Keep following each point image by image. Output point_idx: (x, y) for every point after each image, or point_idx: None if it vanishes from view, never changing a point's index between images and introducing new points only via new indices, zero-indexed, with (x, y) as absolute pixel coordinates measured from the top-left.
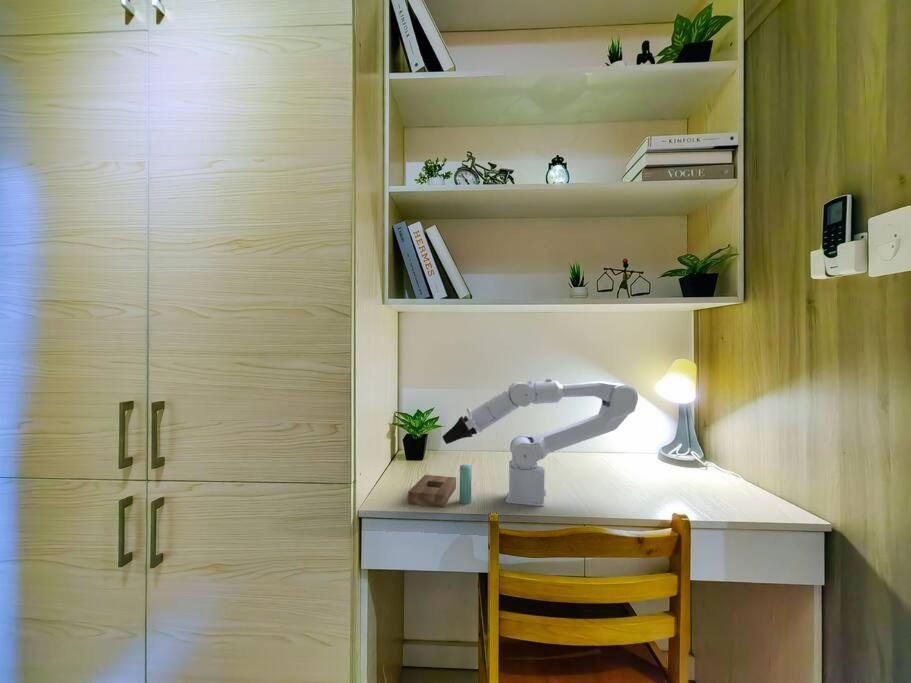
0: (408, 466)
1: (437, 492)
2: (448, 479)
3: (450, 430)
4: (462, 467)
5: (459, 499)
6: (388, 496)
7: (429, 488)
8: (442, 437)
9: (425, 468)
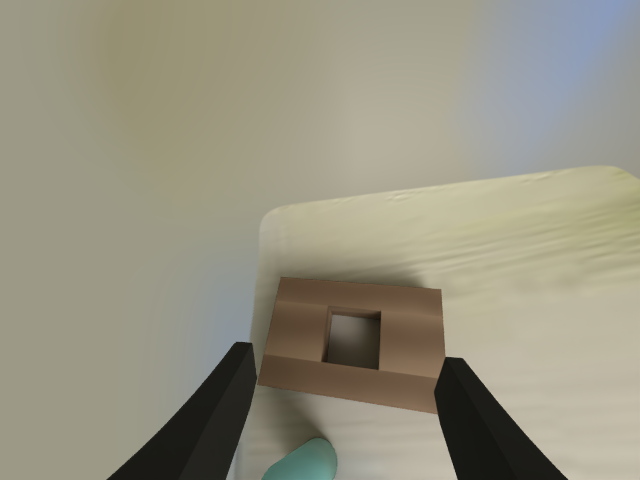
0: (607, 209)
1: (279, 361)
2: (413, 384)
3: (182, 411)
4: (267, 477)
5: (311, 439)
6: (334, 232)
7: (310, 329)
8: (233, 344)
9: (622, 265)
